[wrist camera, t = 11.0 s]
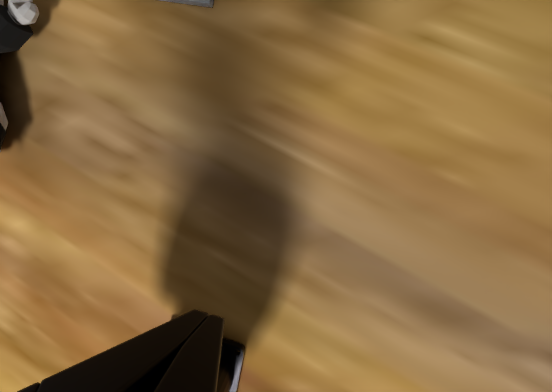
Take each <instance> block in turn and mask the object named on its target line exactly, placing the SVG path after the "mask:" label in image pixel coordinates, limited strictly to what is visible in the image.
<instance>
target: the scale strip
mask: <svg viewBox="0 0 552 392" xmlns="http://www.w3.org/2000/svg"><path fill="white" fill-rule="evenodd" d="M160 1H167V2H174V3H182V4H189V5H197V6H204V7H212V8H213V2H214V0H160Z"/></svg>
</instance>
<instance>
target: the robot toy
mask: <svg viewBox="0 0 552 392" xmlns="http://www.w3.org/2000/svg"><path fill="white" fill-rule="evenodd" d="M32 2H33V1H32V0H8V7H6V6H3V5H4V0H0V53H5V52H11V51H17V50H19V49H20V48H21V47H22V45H23V44H24V43H25V42H26V41H27V40H28V39H29V38H30V37H31V36H32V35H33V31H32V29H31V27H30V26H29V24H32V23H35V22H36V20H37V18H38V16H39V11H38V8H37V6H36V5H35V4H33V3H32ZM7 125H8V121H7V118H6V115H5V112H4V109H3V106H2V104H1V102H0V149H1V146H2V143H3V140H4V138H5V135H6V128H7ZM0 152H1V150H0Z"/></svg>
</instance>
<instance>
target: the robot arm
mask: <svg viewBox="0 0 552 392" xmlns="http://www.w3.org/2000/svg"><path fill="white" fill-rule="evenodd" d="M224 322H225V320H224V318H222V317H219V316H216V315H209V314H208V313H206V312H203V311H199V310H192V311H190V312H188V313H186V314H184V315H181V316H179V317H177V318H175V319H173V320H171V321H169V322H166V323H164V324H162V325H160V326H158V327H156V328H153V329H151V330H149V331H147V332H145V333H143V334H141V335H138V336H136V337H134V338H132V339H130V340H128V341H125V342H123V343H121V344H119V345H117V346H115V347H113V348H110V349H108V350H106V351H104V352H102V353H100V354H97V355H95V356H93V357H91V358H89V359H87V360H85V361H82V362H80V363H78V364H76V365H74V366H72V367H69V368H67V369H65V370H63V371H61V372H59V373H57V374H54V375H52V376H50V377H48V378H46V379H44V380H42V382H41V383H38V382H37V383H35V384H33V385H30V386H28V387H26V388H24V389H22V390H20V391H17V392H237V388H238V383H239V378H240V373H241V368H242V363H243V358H244V353H245V348H244V346H243V345H242V344H240V343H237V342H234V341H231V340H228V339H225V338H223V330H224ZM237 350H239V351H240V352H238V351H237Z"/></svg>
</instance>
